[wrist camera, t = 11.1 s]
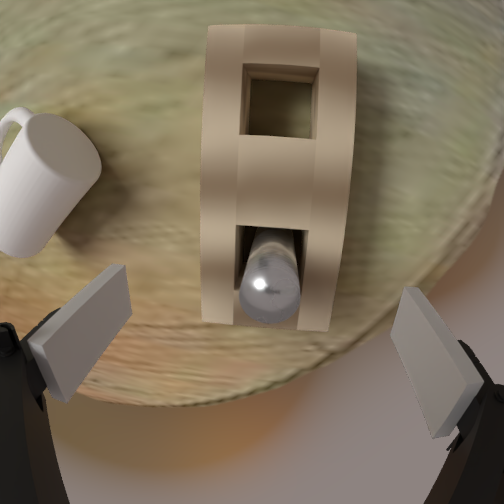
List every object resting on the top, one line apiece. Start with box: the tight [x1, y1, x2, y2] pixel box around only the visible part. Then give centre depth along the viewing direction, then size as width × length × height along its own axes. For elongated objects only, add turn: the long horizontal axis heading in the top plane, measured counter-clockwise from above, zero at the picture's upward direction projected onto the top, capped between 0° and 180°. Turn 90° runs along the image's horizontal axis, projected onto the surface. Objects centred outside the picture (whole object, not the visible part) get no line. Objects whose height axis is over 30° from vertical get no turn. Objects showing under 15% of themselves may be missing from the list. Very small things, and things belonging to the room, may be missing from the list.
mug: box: [0, 107, 102, 258], centre depth 20 cm, size 12×10×8 cm
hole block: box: [200, 24, 357, 332], centre depth 20 cm, size 20×9×5 cm, turn 177°
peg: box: [239, 226, 301, 324], centre depth 20 cm, size 3×3×10 cm
